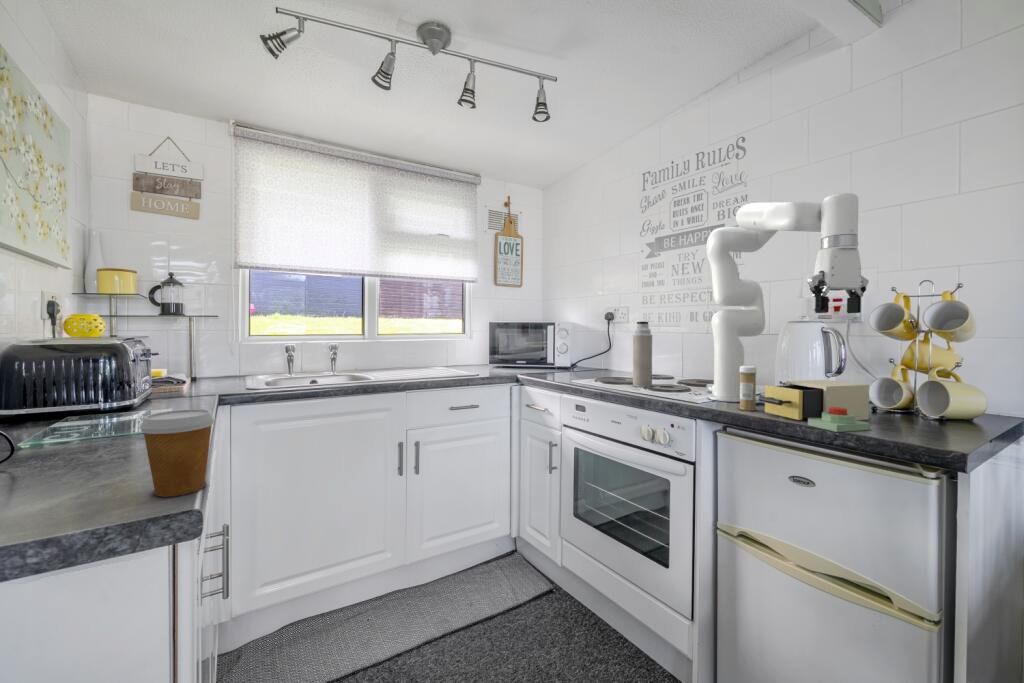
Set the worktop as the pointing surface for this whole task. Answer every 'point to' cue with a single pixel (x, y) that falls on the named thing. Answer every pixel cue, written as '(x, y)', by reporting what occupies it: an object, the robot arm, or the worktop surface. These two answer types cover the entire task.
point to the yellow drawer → (793, 401)
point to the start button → (837, 411)
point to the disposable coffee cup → (178, 449)
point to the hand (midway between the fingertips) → (837, 312)
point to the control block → (838, 422)
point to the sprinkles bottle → (748, 388)
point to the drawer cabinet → (841, 396)
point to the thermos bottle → (642, 356)
